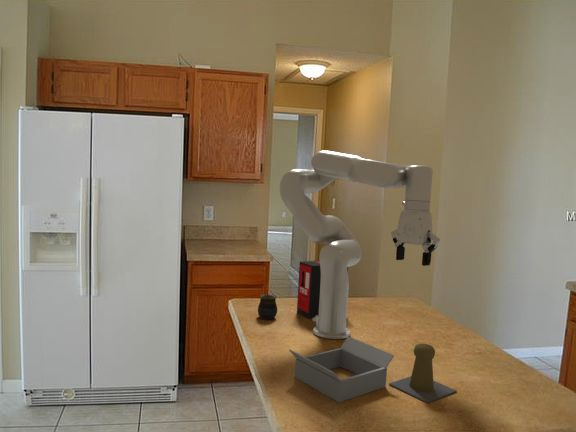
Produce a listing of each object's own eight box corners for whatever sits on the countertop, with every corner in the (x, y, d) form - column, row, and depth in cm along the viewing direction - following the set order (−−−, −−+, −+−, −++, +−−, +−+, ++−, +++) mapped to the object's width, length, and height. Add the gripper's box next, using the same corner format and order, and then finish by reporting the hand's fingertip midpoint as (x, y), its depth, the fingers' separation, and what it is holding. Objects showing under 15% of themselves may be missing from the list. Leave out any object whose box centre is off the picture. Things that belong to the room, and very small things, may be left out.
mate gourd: (275, 314, 183) (277, 289, 182) (278, 321, 176) (279, 294, 175) (256, 314, 182) (258, 288, 181) (258, 321, 175) (259, 293, 174)
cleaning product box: (309, 319, 181) (312, 265, 179) (296, 312, 188) (299, 261, 187) (344, 314, 189) (348, 264, 187) (331, 308, 197) (334, 259, 195)
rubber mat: (389, 384, 126) (389, 383, 126) (417, 375, 133) (418, 373, 133) (427, 403, 116) (428, 401, 116) (456, 392, 124) (456, 390, 124)
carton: (287, 379, 126) (288, 349, 125) (346, 363, 139) (348, 336, 139) (330, 405, 113) (332, 372, 112) (392, 384, 126) (394, 354, 125)
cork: (406, 381, 127) (409, 340, 127) (428, 381, 128) (431, 341, 127) (414, 391, 121) (417, 349, 121) (437, 392, 122) (441, 349, 121)
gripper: (386, 204, 151) (382, 258, 152) (433, 209, 137) (428, 268, 139) (402, 204, 156) (398, 257, 157) (449, 209, 142) (444, 266, 143)
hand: (412, 262), depth 148 cm, fingers open, 9 cm apart
